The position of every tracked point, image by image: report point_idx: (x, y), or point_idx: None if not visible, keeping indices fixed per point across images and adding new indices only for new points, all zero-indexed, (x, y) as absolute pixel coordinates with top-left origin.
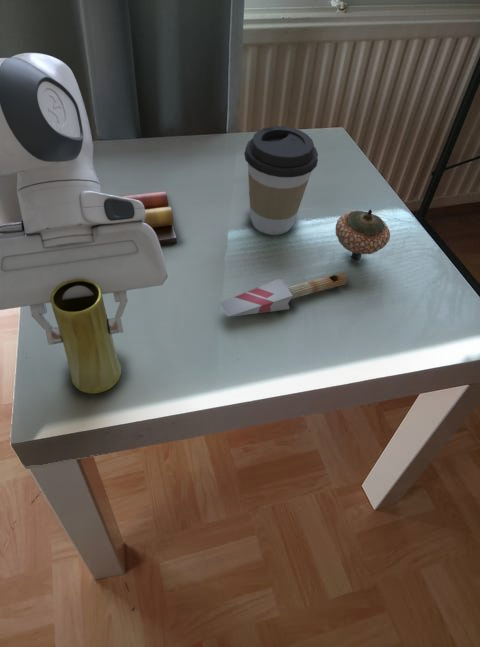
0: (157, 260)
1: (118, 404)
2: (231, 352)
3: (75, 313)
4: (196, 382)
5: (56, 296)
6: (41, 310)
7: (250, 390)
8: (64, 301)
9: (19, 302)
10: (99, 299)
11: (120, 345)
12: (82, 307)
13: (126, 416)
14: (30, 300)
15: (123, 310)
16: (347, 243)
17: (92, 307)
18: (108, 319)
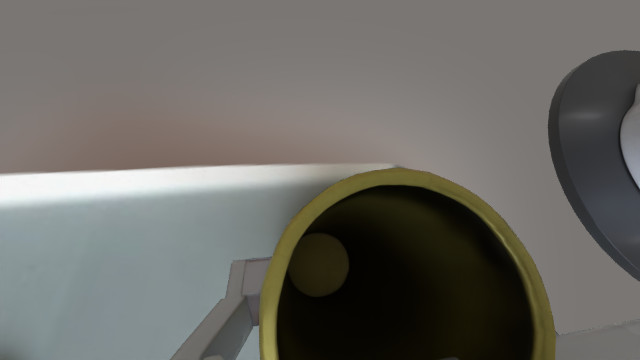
0: None
1: (283, 196)
2: (38, 287)
3: (401, 169)
4: (140, 220)
5: (504, 348)
6: None
7: (42, 189)
8: (439, 356)
9: (629, 338)
10: (273, 263)
11: None
12: (358, 358)
13: (272, 173)
14: (591, 349)
15: (204, 320)
16: None
17: (315, 200)
18: None
